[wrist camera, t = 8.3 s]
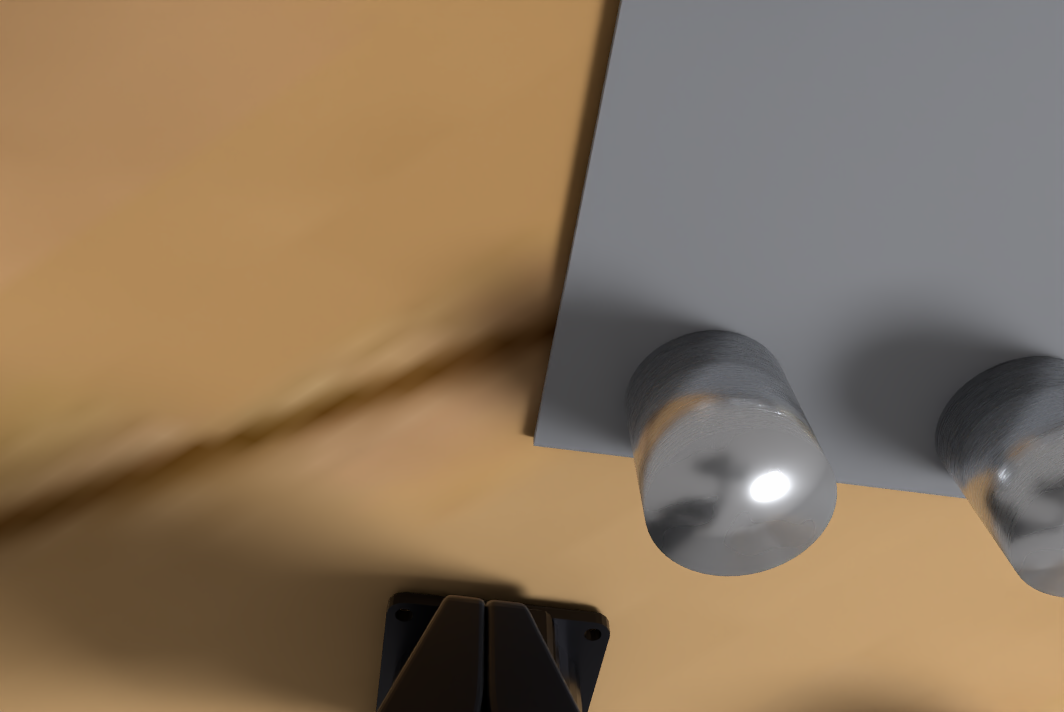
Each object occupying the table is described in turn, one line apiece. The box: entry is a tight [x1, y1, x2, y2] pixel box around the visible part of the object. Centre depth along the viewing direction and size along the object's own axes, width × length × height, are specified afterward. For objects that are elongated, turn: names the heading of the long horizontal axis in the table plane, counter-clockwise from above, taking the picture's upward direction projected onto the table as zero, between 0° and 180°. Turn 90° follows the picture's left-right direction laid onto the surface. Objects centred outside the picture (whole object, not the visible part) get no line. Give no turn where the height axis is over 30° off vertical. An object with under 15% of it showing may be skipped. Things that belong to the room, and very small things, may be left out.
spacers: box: [625, 330, 1064, 597], centre depth 17 cm, size 18×14×4 cm
